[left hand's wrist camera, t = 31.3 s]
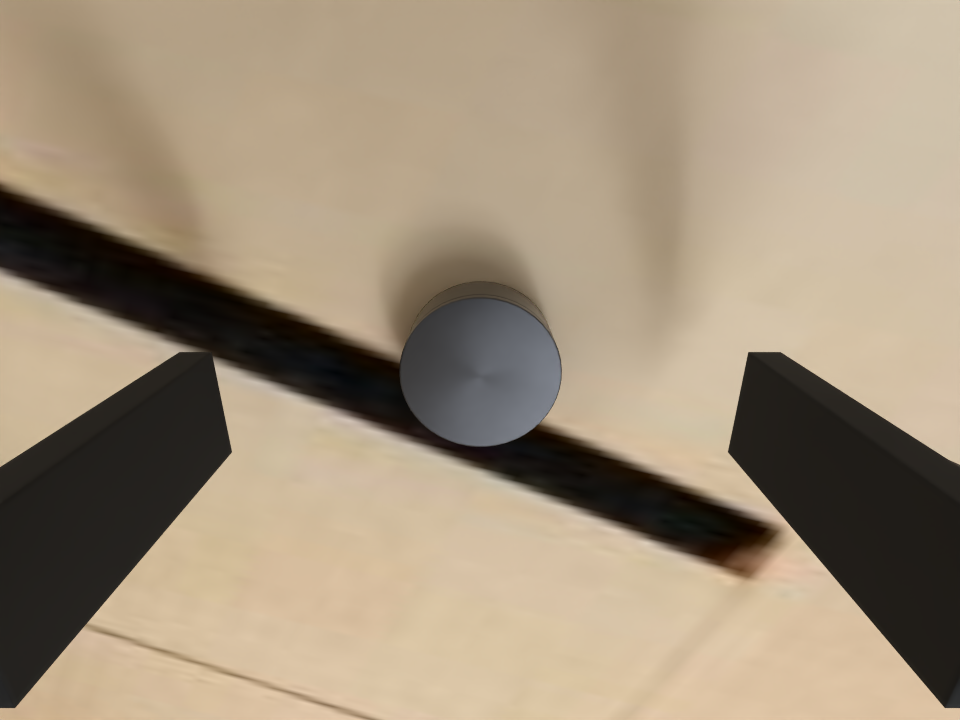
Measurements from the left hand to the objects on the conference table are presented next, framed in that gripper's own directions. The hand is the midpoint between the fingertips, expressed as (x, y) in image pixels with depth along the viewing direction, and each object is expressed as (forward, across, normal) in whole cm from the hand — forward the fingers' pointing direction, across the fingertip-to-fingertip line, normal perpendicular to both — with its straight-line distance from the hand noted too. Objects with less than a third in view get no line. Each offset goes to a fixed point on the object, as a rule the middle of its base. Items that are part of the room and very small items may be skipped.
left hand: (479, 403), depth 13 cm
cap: (+2, 0, 0) cm, 2 cm away
